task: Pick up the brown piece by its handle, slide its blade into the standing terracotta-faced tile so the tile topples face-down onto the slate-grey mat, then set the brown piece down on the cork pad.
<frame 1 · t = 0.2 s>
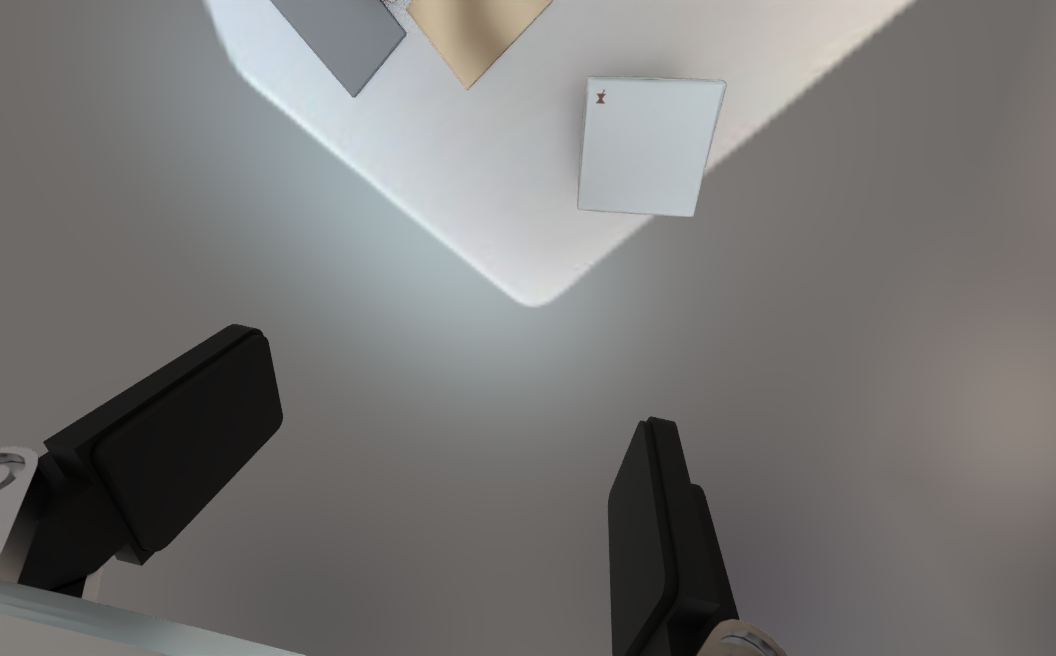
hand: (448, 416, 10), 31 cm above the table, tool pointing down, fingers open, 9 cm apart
supplement box: (627, 132, 34), on the table
pad: (478, 5, 31), on the table
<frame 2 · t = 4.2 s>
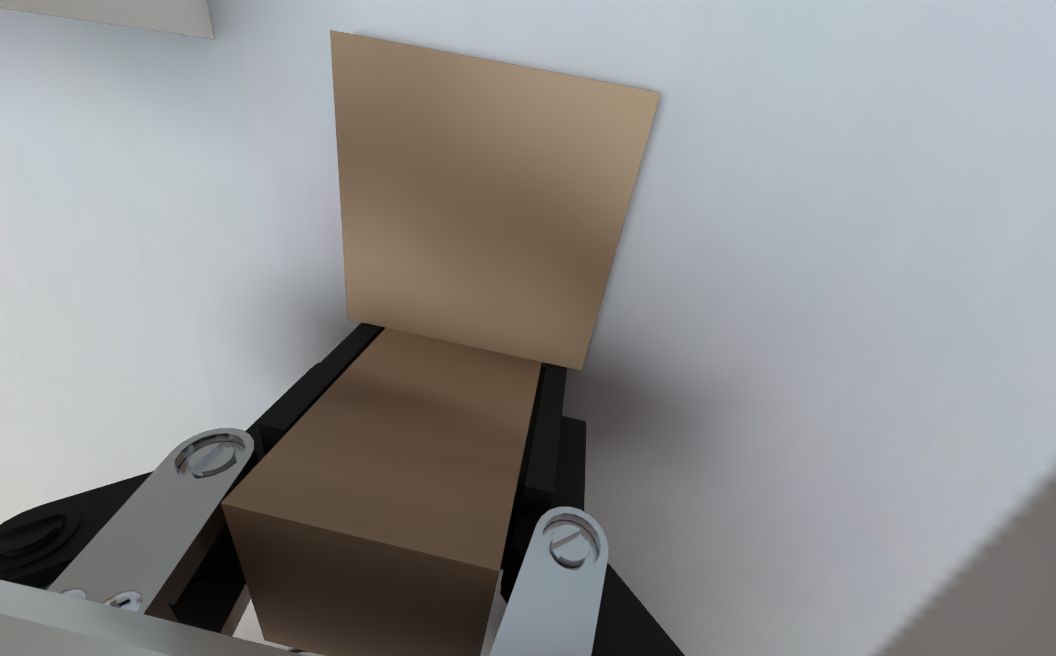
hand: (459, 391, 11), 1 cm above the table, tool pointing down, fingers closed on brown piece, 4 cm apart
brown piece: (464, 388, 12), on the table, touching gripper
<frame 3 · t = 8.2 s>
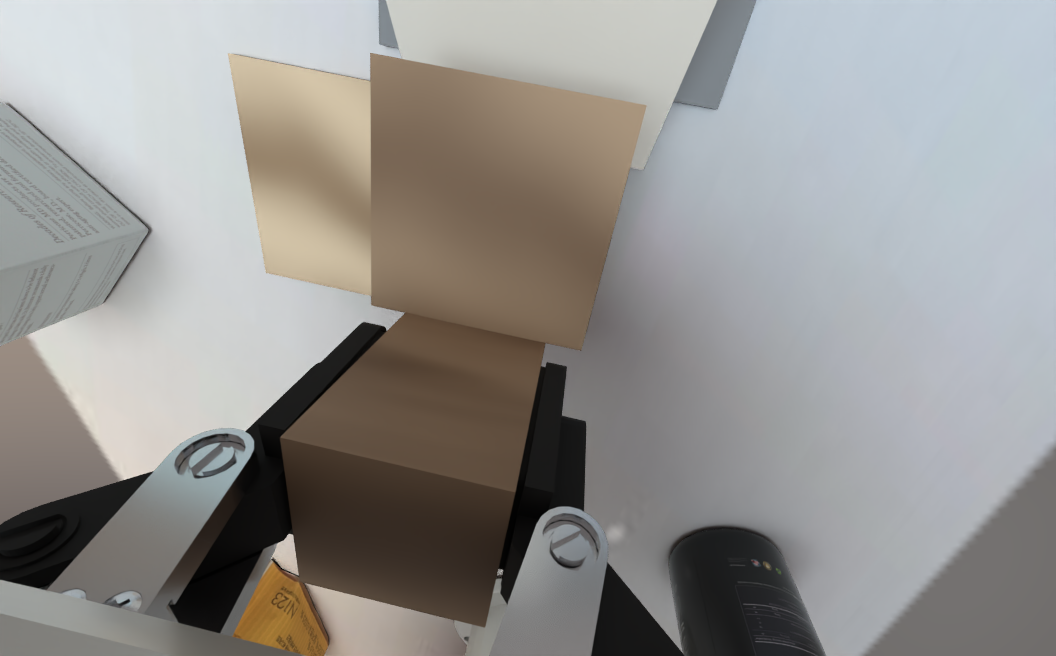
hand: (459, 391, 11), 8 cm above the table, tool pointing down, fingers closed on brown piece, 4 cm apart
supplement box: (64, 214, 21), on the table
brown piece: (474, 372, 13), point 7 cm above the table, touching gripper
pancake mix bag: (290, 606, 38), on the table
supplement bottle: (722, 555, 26), on the table
tile: (536, 125, 15), point 1 cm above the table, tilted 49°
pad: (330, 192, 18), on the table
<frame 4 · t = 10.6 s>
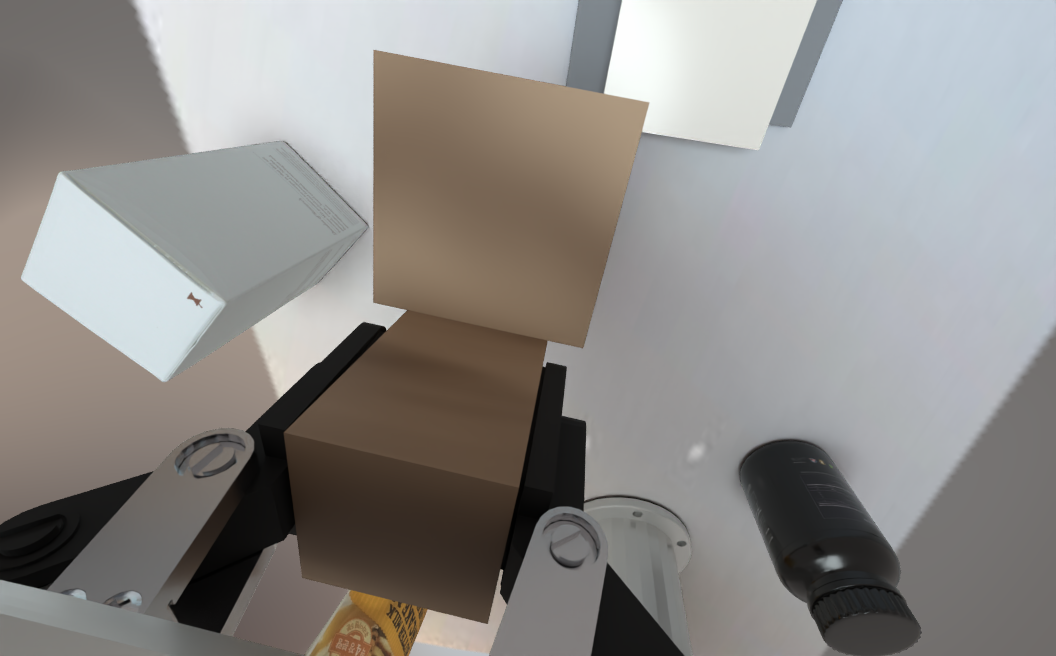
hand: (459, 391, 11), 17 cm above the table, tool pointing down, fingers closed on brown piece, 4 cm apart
supplement box: (302, 217, 29), on the table
brown piece: (475, 369, 13), point 16 cm above the table, touching gripper
pancake mix bag: (410, 541, 46), on the table
supplement bottle: (782, 466, 33), on the table
tile: (673, 136, 21), point 2 cm above the table, tilted 90°, touching mat
mat: (696, 31, 20), on the table
when the fingers open (3 cm above the table, at t = 12.8 s): brown piece stays where it is, resting on pad.
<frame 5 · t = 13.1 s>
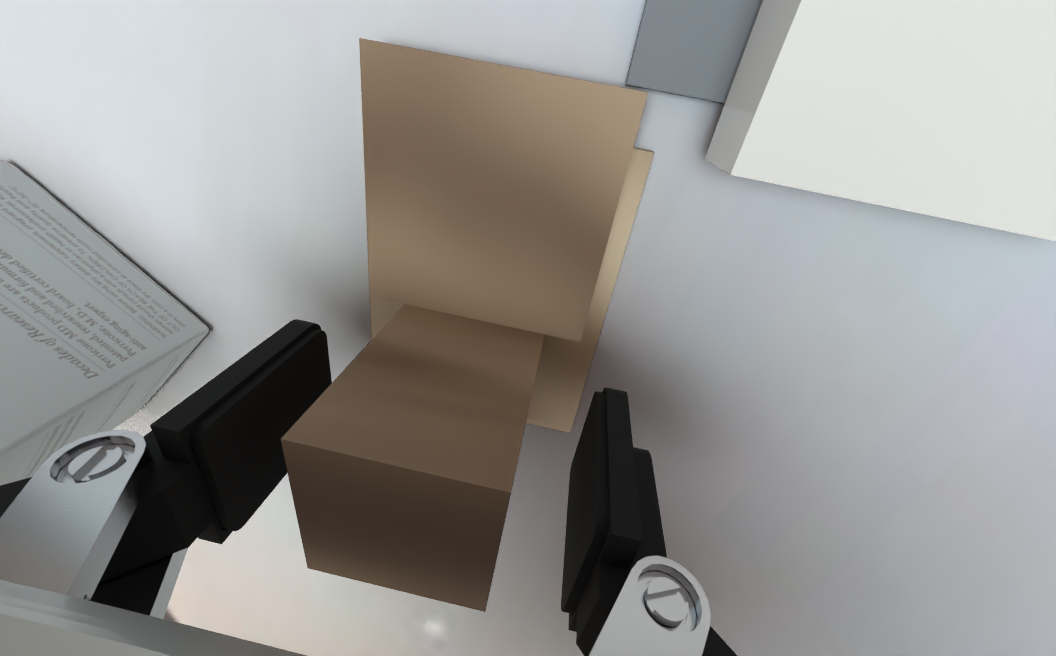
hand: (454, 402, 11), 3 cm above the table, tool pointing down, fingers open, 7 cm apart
supplement box: (90, 303, 15), on the table
brown piece: (474, 361, 13), resting on pad
tile: (920, 208, 8), point 2 cm above the table, tilted 90°, touching mat
pad: (487, 290, 12), on the table
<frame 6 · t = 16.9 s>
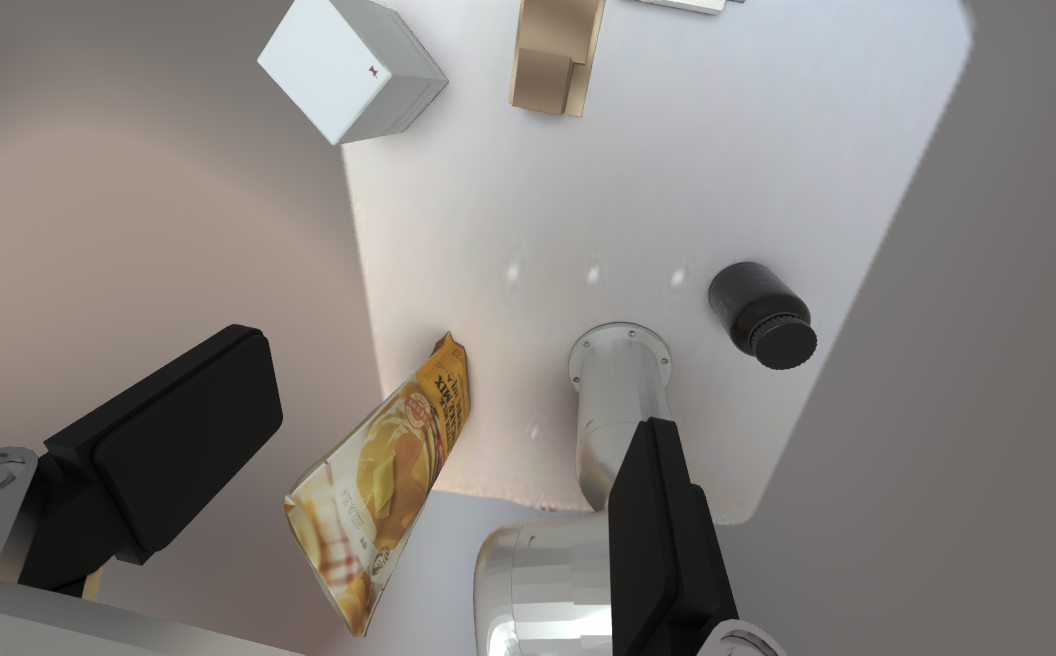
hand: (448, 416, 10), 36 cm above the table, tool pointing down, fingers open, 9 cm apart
supplement box: (399, 75, 39), on the table
brown piece: (548, 84, 37), resting on pad
pancake mix bag: (447, 380, 57), on the table
supplement bottle: (740, 289, 45), on the table
tile: (668, 3, 32), point 2 cm above the table, tilted 90°, touching mat
pad: (554, 53, 36), on the table
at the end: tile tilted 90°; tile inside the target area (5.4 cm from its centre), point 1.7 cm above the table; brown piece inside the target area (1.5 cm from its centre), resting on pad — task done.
